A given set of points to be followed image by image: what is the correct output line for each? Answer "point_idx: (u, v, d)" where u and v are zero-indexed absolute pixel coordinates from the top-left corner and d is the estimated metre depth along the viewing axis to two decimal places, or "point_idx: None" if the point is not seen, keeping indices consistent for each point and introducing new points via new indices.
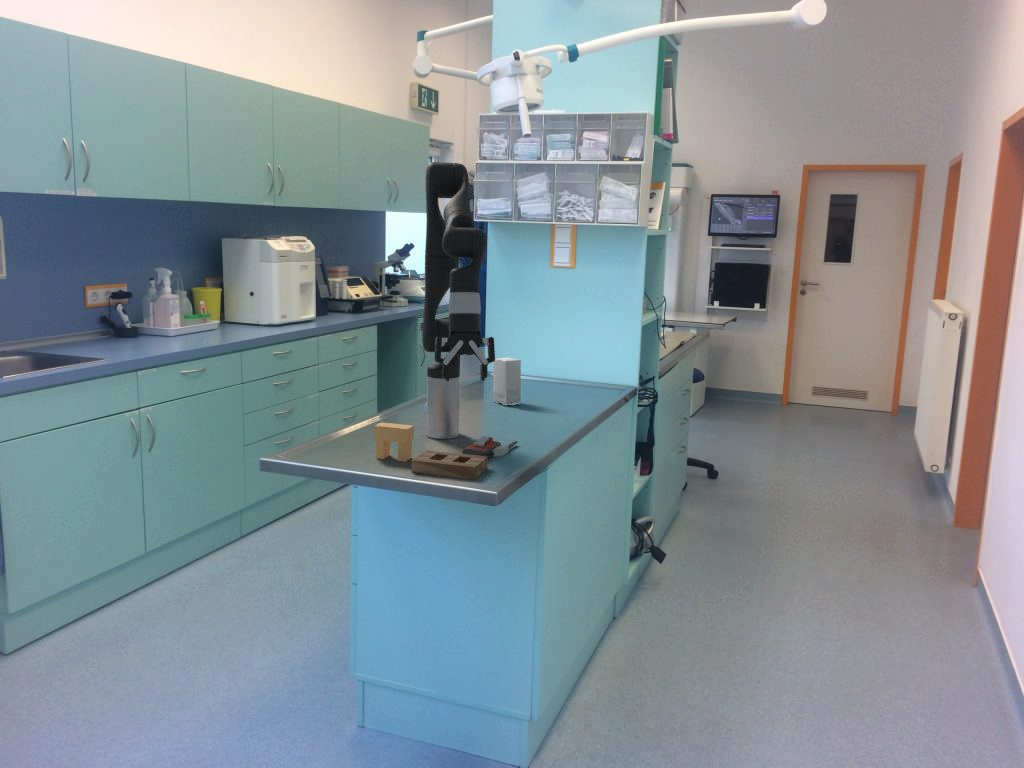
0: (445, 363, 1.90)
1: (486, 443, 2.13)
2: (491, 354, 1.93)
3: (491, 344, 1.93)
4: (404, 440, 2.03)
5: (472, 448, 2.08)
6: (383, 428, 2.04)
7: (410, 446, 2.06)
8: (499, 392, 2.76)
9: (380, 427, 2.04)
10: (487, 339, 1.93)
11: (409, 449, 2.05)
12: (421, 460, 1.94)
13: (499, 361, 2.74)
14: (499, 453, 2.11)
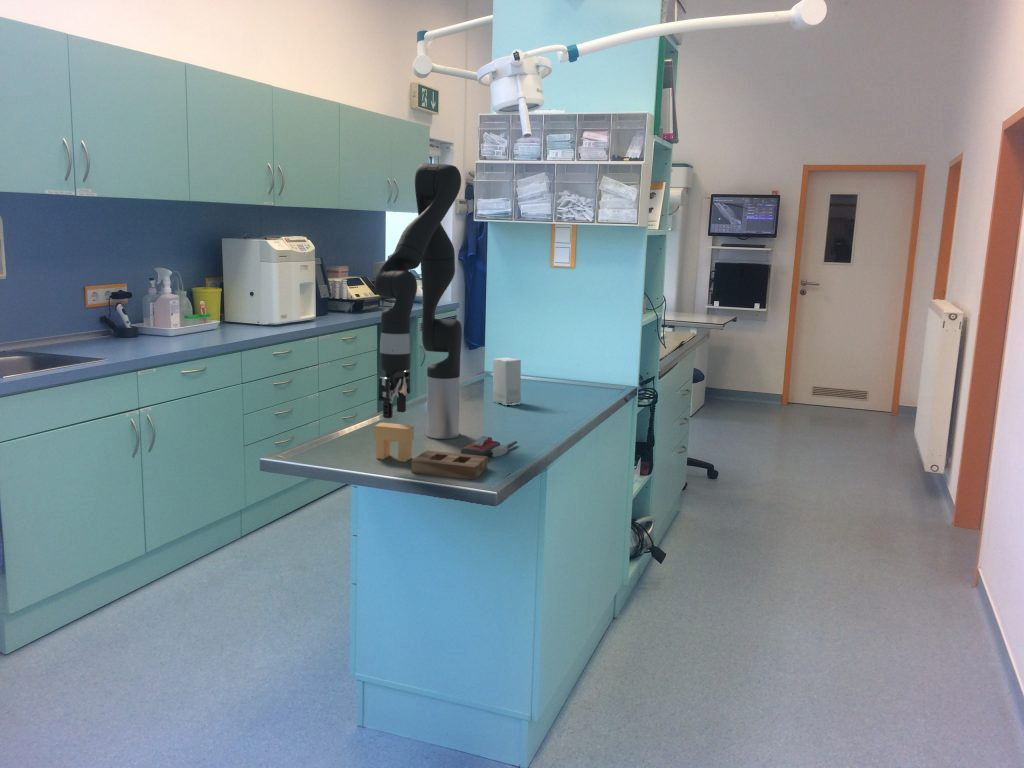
0: None
1: (485, 443, 2.13)
2: None
3: None
4: (404, 440, 2.03)
5: (470, 448, 2.08)
6: (383, 428, 2.04)
7: (410, 446, 2.06)
8: (499, 392, 2.76)
9: (380, 427, 2.04)
10: None
11: (409, 449, 2.05)
12: (421, 460, 1.94)
13: (499, 361, 2.74)
14: (498, 452, 2.11)
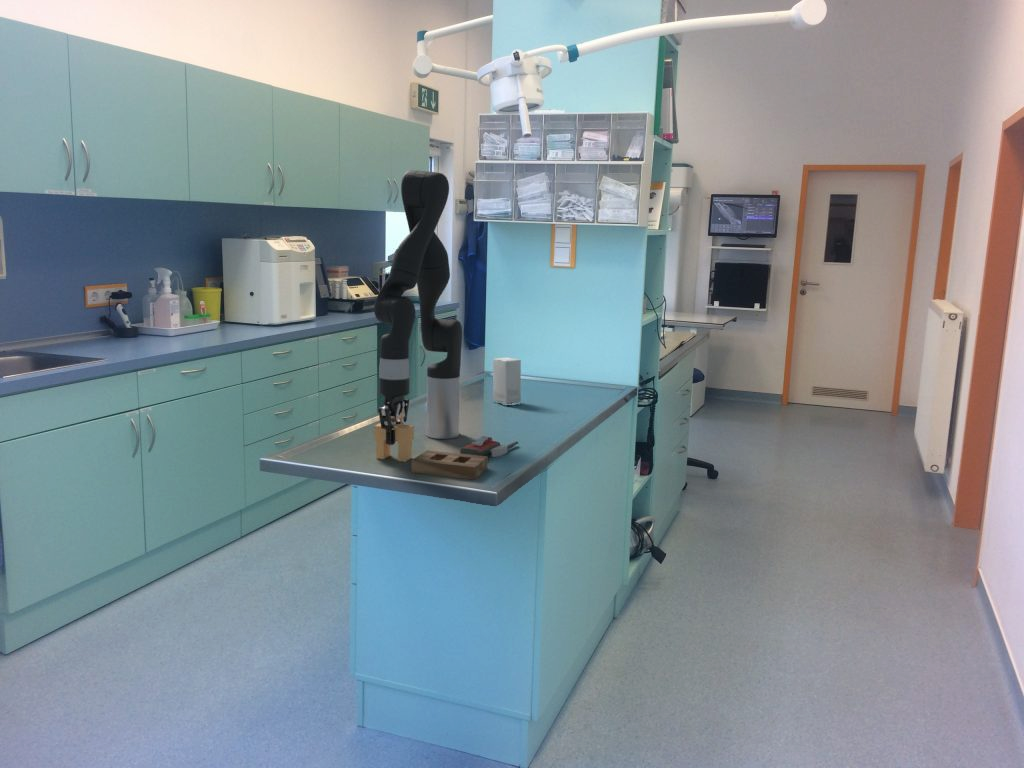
0: None
1: (485, 443, 2.13)
2: None
3: None
4: (404, 440, 2.03)
5: (469, 448, 2.08)
6: None
7: (410, 446, 2.06)
8: (499, 392, 2.76)
9: (380, 427, 2.04)
10: None
11: (409, 448, 2.05)
12: (421, 460, 1.94)
13: (499, 361, 2.74)
14: (497, 453, 2.11)
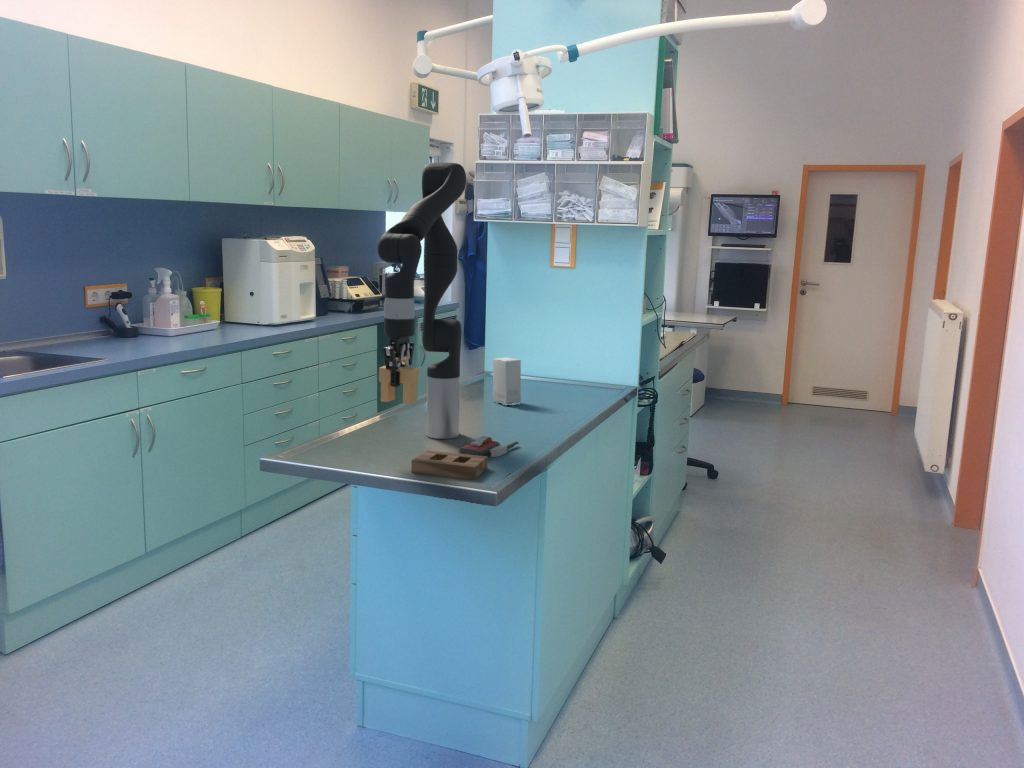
0: None
1: (484, 443, 2.13)
2: None
3: None
4: (409, 382, 1.99)
5: (468, 448, 2.08)
6: (388, 370, 2.00)
7: (415, 389, 2.02)
8: (499, 392, 2.76)
9: (385, 369, 2.00)
10: None
11: (414, 391, 2.02)
12: (421, 460, 1.94)
13: (499, 361, 2.74)
14: (496, 453, 2.11)
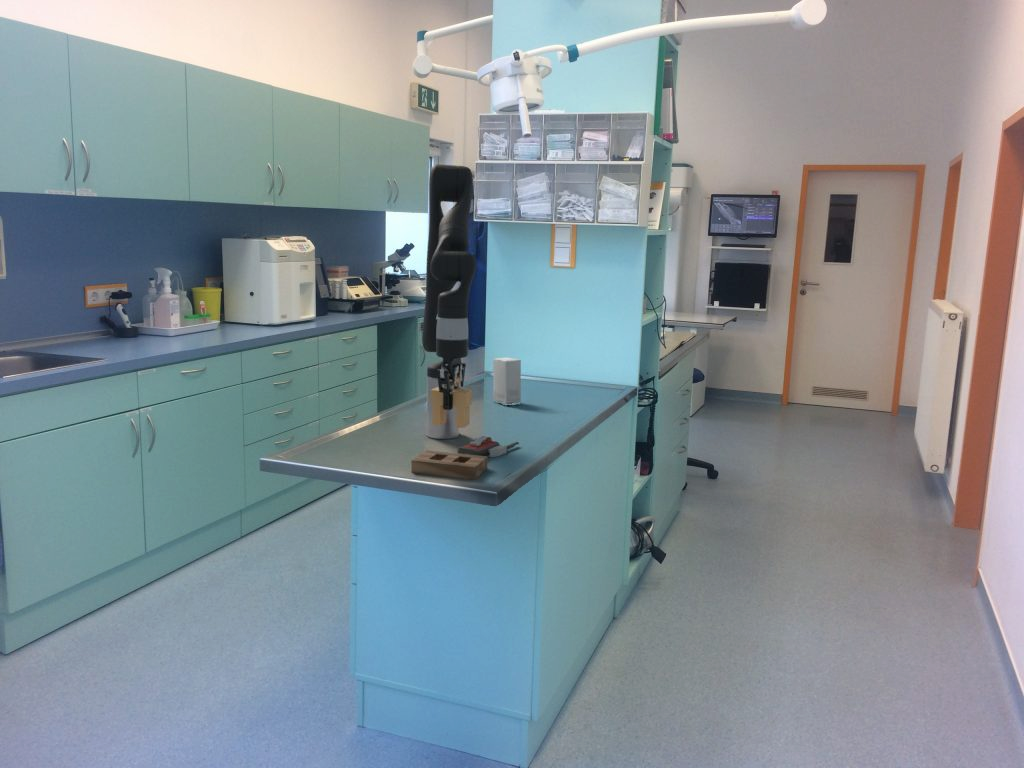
0: None
1: (484, 443, 2.13)
2: None
3: None
4: (463, 405, 1.91)
5: (467, 447, 2.08)
6: (440, 392, 1.92)
7: (468, 412, 1.95)
8: (499, 392, 2.76)
9: (437, 391, 1.93)
10: None
11: (467, 414, 1.94)
12: (421, 460, 1.94)
13: (499, 361, 2.74)
14: (495, 453, 2.11)
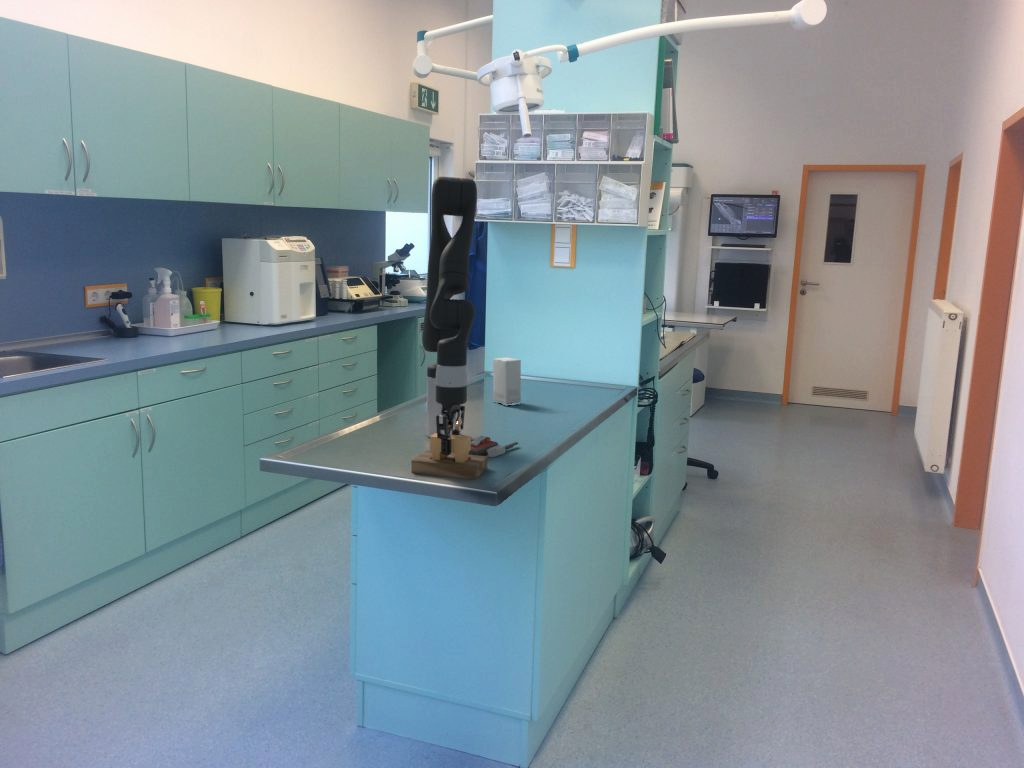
0: None
1: (482, 443, 2.13)
2: None
3: None
4: (462, 452, 1.93)
5: None
6: (439, 439, 1.94)
7: (467, 458, 1.97)
8: (499, 392, 2.76)
9: (436, 438, 1.95)
10: None
11: (466, 460, 1.96)
12: (421, 460, 1.94)
13: (499, 361, 2.74)
14: (494, 453, 2.11)
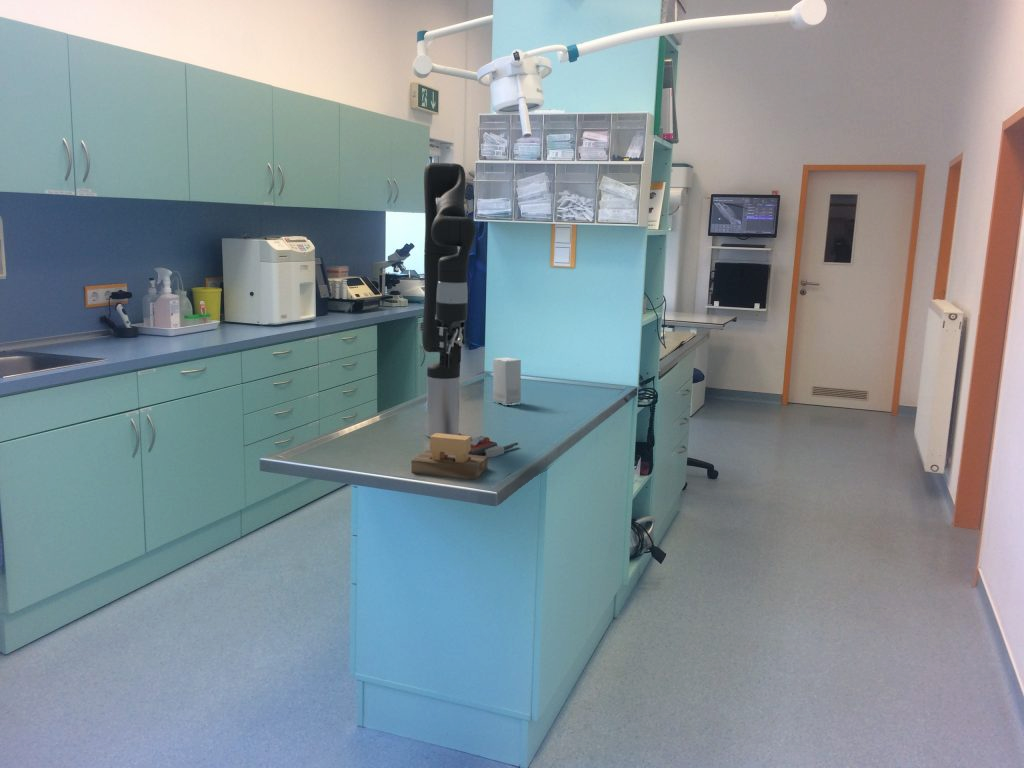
0: None
1: (481, 443, 2.13)
2: None
3: None
4: (462, 452, 1.93)
5: None
6: (439, 439, 1.94)
7: (467, 458, 1.97)
8: (499, 392, 2.76)
9: (436, 438, 1.95)
10: None
11: (466, 460, 1.96)
12: (421, 460, 1.94)
13: (499, 361, 2.74)
14: (492, 453, 2.11)
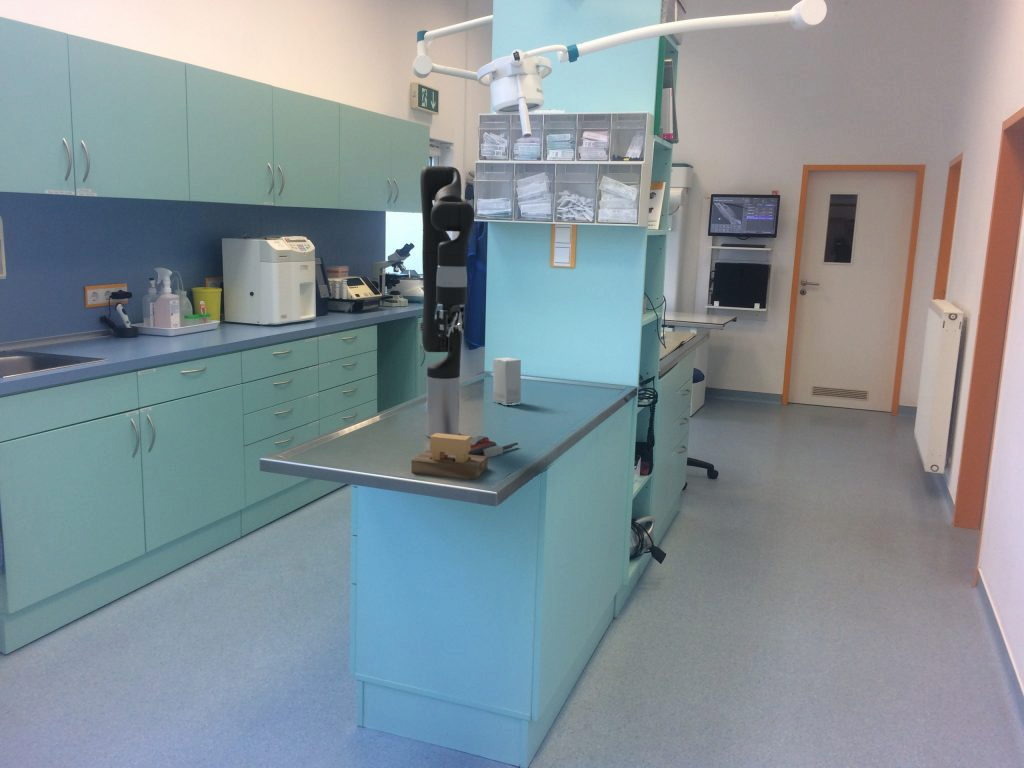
0: None
1: (480, 442, 2.13)
2: None
3: None
4: (462, 452, 1.93)
5: None
6: (439, 439, 1.94)
7: (467, 458, 1.97)
8: (499, 392, 2.76)
9: (436, 438, 1.95)
10: None
11: (466, 460, 1.96)
12: (421, 460, 1.94)
13: (499, 361, 2.74)
14: (490, 453, 2.11)
